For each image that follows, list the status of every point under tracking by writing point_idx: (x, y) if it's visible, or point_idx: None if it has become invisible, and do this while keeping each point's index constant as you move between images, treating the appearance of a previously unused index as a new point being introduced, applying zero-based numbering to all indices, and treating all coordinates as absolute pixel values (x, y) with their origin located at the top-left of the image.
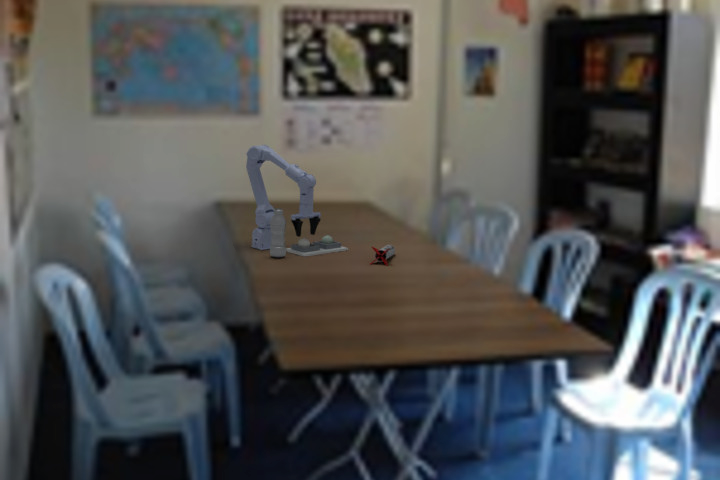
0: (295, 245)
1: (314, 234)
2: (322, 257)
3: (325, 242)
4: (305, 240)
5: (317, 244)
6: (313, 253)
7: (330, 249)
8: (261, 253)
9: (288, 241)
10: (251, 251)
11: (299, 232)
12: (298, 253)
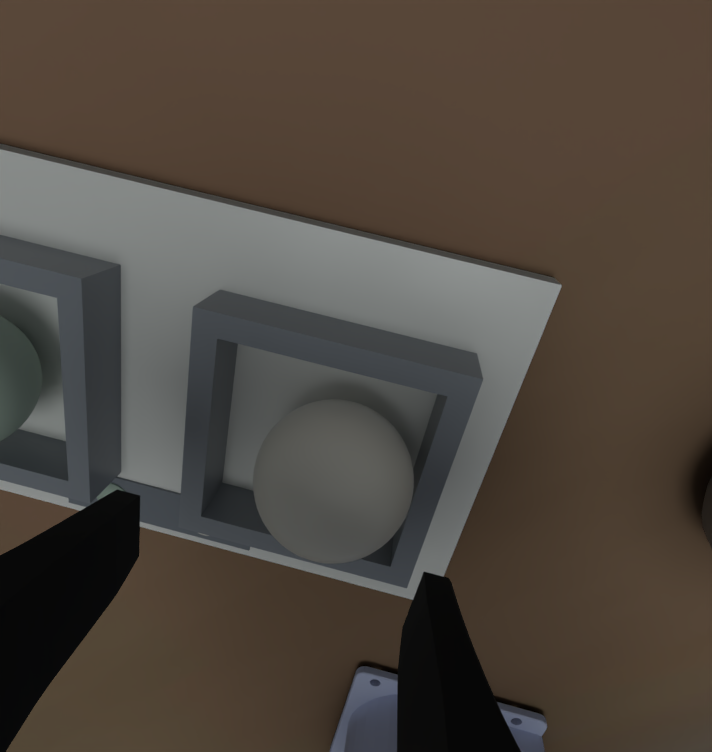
0: (417, 534)
1: (117, 492)
2: (437, 41)
3: (11, 356)
4: (349, 480)
5: (101, 428)
6: (404, 246)
7: (69, 221)
8: (671, 665)
9: (120, 707)
10: (637, 743)
11: (469, 644)
12: (512, 397)
